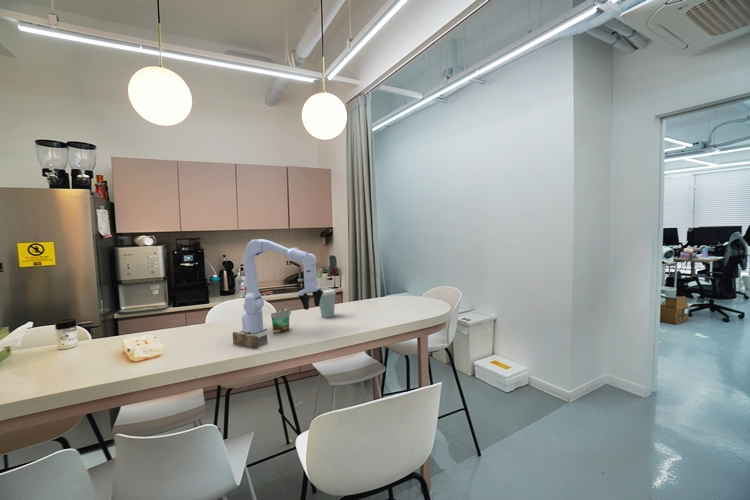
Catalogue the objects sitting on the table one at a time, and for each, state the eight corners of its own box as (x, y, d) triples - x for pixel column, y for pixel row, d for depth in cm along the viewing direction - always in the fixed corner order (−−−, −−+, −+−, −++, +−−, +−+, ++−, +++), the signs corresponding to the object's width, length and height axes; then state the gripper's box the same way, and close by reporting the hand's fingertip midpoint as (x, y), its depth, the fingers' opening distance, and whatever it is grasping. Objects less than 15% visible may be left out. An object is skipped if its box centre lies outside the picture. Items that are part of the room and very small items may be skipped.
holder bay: (233, 344, 141) (232, 332, 141) (247, 338, 147) (246, 327, 147) (256, 348, 134) (255, 336, 134) (269, 343, 140) (269, 331, 140)
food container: (284, 335, 151) (283, 313, 150) (271, 335, 152) (270, 313, 151) (296, 327, 163) (294, 307, 162) (284, 327, 164) (283, 307, 163)
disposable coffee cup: (341, 315, 183) (339, 288, 182) (328, 320, 174) (326, 291, 173) (326, 313, 188) (325, 287, 187) (313, 317, 179) (311, 290, 178)
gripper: (306, 282, 149) (307, 311, 150) (326, 277, 161) (327, 305, 162) (294, 281, 152) (296, 310, 153) (315, 276, 165) (316, 303, 166)
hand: (311, 307), depth 158 cm, fingers open, 7 cm apart
